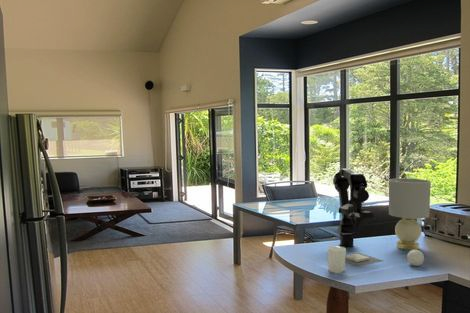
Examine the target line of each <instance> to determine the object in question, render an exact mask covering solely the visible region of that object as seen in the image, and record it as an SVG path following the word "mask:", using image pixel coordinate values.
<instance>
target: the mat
mask: <svg viewBox="0 0 470 313" xmlns="http://www.w3.org/2000/svg"><path fill="white" fill-rule="evenodd" d="M352 254H353V253H351V254H350V255H352ZM355 254H360V255H363V256H366V257H370V260H365V261H360V262H356V261H353V260H350V259H347V258H345V264H347V265H350V266H353V267H361V266H366V265H371V264H377V263H382V262H384V260H382V259H380V258H376V257H373V256H370V255H367V254H363V253H361V252H357V253H355Z"/></svg>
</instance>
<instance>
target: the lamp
mask: <svg viewBox="0 0 470 313" xmlns="http://www.w3.org/2000/svg"><path fill="white" fill-rule="evenodd" d="M388 183H389V185H388V186H389V187H388V190H389V192H388V194H389V195H388V215H390V216H392V217H395V218H396V217H397V218H402V219H400V220H398V222H396V225H395V227H394V231H395V235H396V237H397V238H398V239H399V240H397V241H396V247H397V249H401V250H406V251H411V250H419V248H420V243H419V242H418V240H419V239H420V237H421V236H422V227H421V225H420V223H419V222H418V221H417V220H416V219H418V220H419V219H421V220H422V219H427V218H429V217H430V207H431V188H432V187H431V185H432V184H431V181H430V180H428V179H423V178H422V179H419V178H409V177H408V178H402V177H401V178H400V177H399V178H397V177H396V178H390V179H389V182H388Z"/></svg>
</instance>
